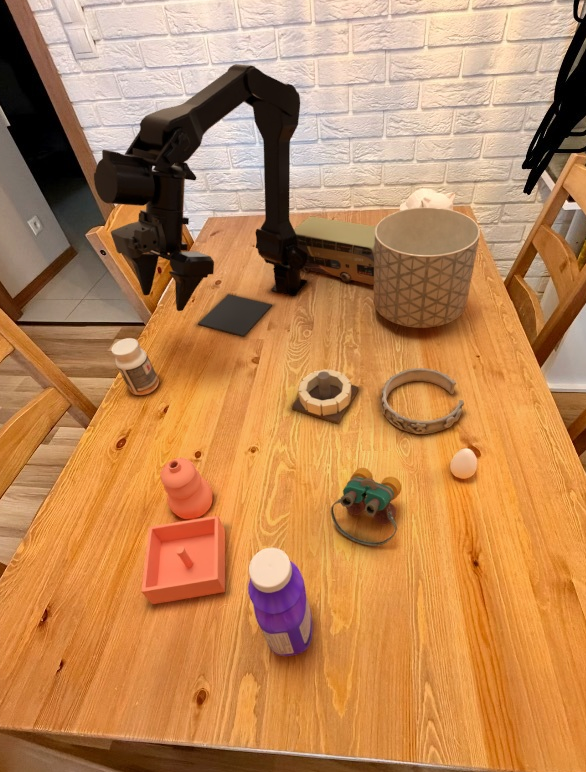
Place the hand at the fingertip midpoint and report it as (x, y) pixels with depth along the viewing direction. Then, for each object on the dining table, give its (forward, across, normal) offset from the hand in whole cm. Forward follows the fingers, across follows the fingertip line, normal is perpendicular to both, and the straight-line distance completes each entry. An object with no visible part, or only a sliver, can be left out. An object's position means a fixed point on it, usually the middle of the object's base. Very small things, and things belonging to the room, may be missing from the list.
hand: (162, 302), depth 81 cm
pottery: (+24, +29, -17) cm, 41 cm away
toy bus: (-5, +7, +47) cm, 48 cm away
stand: (+10, +29, +13) cm, 34 cm away
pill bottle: (+17, -2, -2) cm, 17 cm away
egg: (+11, +56, +12) cm, 58 cm away
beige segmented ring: (+10, +29, +13) cm, 33 cm away
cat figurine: (-12, +18, +63) cm, 67 cm away
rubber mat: (+6, -3, +22) cm, 23 cm away
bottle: (+24, +49, -18) cm, 58 cm away
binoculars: (+17, +48, -1) cm, 51 cm away
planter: (-3, +30, +42) cm, 52 cm away
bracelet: (+7, +44, +20) cm, 49 cm away
